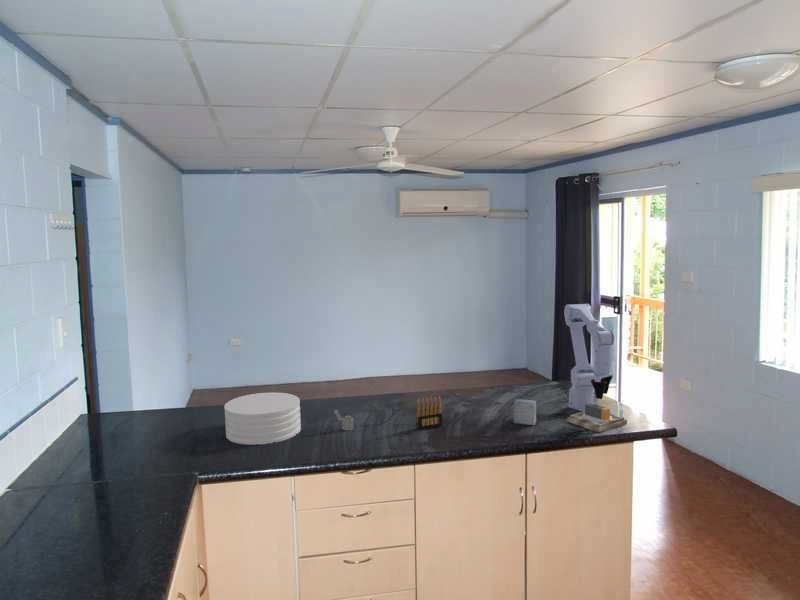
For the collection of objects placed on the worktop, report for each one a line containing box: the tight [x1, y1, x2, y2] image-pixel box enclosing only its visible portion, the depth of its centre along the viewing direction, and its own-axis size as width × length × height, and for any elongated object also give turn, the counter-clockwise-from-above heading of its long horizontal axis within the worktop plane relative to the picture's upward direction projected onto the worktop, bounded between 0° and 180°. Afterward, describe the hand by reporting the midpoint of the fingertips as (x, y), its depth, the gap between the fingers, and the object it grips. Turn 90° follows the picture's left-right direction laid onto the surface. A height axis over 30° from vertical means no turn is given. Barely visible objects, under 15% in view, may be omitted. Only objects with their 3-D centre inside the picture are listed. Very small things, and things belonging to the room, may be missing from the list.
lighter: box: [333, 409, 354, 431], centre depth 223 cm, size 7×2×8 cm, turn 100°
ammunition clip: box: [415, 395, 444, 431], centre depth 224 cm, size 11×2×12 cm, turn 112°
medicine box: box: [513, 398, 537, 426], centre depth 227 cm, size 8×4×9 cm, turn 65°
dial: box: [582, 403, 612, 424], centre depth 225 cm, size 11×11×5 cm
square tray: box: [567, 411, 628, 433], centre depth 225 cm, size 15×16×3 cm
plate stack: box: [223, 392, 302, 446], centre depth 223 cm, size 28×28×12 cm
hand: (601, 395), depth 225 cm, fingers open, 7 cm apart
